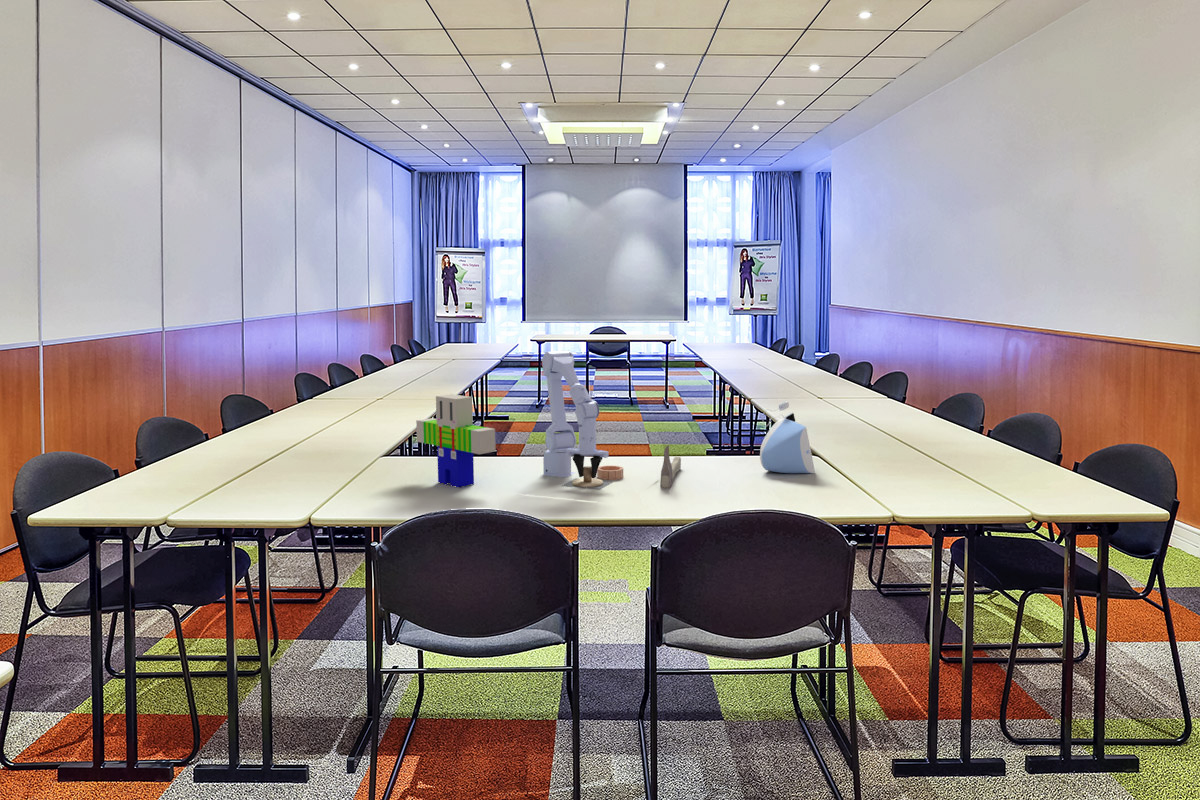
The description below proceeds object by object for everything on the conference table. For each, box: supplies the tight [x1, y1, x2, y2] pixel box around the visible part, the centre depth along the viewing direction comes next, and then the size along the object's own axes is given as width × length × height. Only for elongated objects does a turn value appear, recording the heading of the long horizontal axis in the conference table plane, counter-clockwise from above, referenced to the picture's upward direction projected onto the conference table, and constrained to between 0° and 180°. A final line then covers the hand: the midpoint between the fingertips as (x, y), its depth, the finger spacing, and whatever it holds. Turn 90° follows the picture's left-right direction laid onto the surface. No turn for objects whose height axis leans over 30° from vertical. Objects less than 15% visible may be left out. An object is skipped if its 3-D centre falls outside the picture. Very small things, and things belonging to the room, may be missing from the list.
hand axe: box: [659, 444, 682, 490], centre depth 314 cm, size 35×3×14 cm, turn 168°
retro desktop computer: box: [759, 400, 816, 474], centre depth 326 cm, size 25×23×17 cm
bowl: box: [596, 465, 624, 481], centre depth 315 cm, size 9×9×4 cm
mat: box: [561, 478, 614, 490], centre depth 305 cm, size 14×12×1 cm
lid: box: [571, 465, 604, 488], centre depth 304 cm, size 10×10×6 cm
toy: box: [415, 393, 496, 488], centre depth 306 cm, size 34×7×30 cm, turn 47°
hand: (587, 477), depth 304 cm, fingers open, 4 cm apart
